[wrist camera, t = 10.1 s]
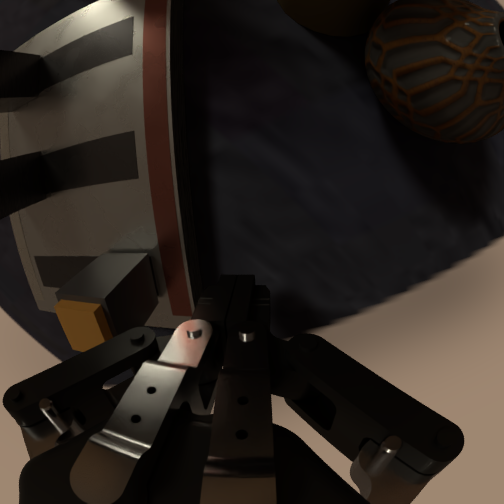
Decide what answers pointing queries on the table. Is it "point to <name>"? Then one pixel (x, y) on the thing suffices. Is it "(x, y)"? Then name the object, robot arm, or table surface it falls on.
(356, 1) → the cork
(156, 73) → the breaker panel
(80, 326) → the breaker handle
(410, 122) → the vase
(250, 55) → the table surface
